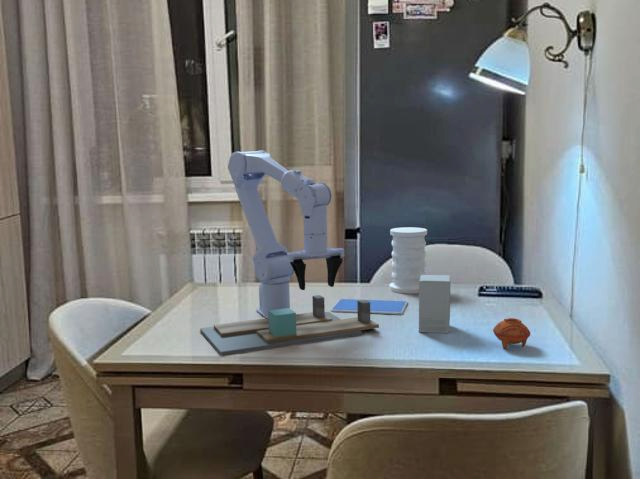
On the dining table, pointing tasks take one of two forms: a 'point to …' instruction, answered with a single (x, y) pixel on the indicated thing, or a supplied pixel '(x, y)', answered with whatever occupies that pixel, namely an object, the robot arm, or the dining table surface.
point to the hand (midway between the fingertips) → (316, 287)
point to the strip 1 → (263, 324)
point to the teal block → (282, 322)
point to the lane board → (261, 340)
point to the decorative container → (407, 259)
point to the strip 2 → (327, 326)
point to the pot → (511, 332)
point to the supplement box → (434, 303)
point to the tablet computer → (371, 306)
